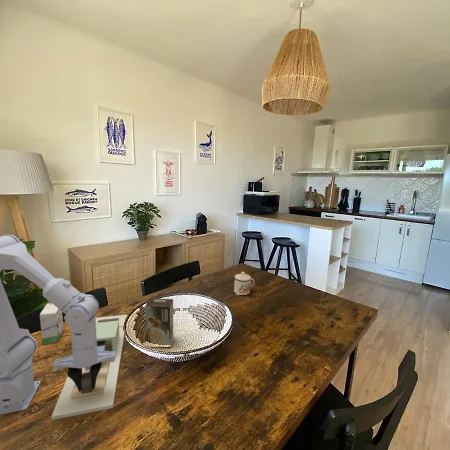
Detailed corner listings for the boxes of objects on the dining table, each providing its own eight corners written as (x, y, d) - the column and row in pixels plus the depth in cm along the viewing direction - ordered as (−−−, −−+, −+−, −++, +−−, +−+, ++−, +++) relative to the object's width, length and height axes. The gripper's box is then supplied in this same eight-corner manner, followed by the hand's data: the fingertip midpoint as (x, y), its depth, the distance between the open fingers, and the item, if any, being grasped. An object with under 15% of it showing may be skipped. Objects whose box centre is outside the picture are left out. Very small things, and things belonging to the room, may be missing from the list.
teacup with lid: (238, 297, 133) (240, 276, 131) (230, 290, 141) (231, 270, 139) (258, 293, 138) (259, 273, 136) (249, 287, 146) (250, 267, 144)
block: (102, 367, 78) (102, 355, 78) (84, 370, 77) (84, 358, 76) (105, 356, 83) (105, 345, 82) (88, 358, 82) (87, 347, 81)
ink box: (58, 342, 92) (55, 312, 90) (41, 345, 90) (39, 314, 88) (64, 329, 100) (62, 301, 98) (49, 331, 98) (46, 303, 96)
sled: (103, 392, 70) (102, 376, 69) (70, 398, 68) (69, 381, 67) (114, 340, 92) (113, 327, 91) (89, 343, 90) (89, 330, 89)
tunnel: (116, 357, 85) (115, 336, 84) (79, 363, 82) (77, 341, 81) (119, 339, 95) (118, 320, 93) (86, 343, 92) (85, 324, 90)
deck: (112, 407, 67) (112, 404, 67) (51, 420, 63) (51, 416, 63) (127, 316, 110) (127, 314, 110) (91, 320, 106) (91, 318, 106)
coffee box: (174, 337, 97) (174, 298, 95) (170, 348, 91) (170, 307, 88) (150, 336, 97) (149, 297, 95) (144, 347, 91) (144, 306, 88)
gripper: (116, 330, 73) (117, 372, 75) (58, 337, 69) (61, 381, 71) (112, 345, 66) (114, 391, 69) (48, 354, 62) (52, 402, 65)
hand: (87, 387), depth 70 cm, fingers closed on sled, 2 cm apart
